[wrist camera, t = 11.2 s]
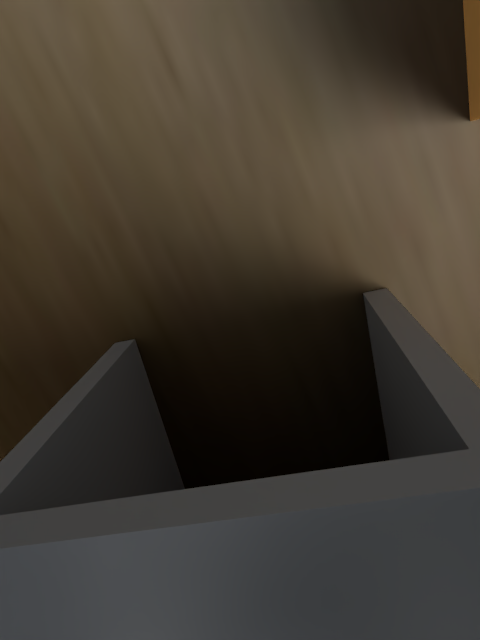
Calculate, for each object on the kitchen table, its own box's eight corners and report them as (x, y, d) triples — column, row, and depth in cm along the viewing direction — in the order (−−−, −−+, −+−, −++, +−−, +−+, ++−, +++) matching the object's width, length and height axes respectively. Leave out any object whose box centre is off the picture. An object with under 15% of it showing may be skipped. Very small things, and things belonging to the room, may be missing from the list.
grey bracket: (419, 520, 11) (568, 892, 5) (186, 548, 12) (103, 887, 6) (387, 288, 9) (560, 477, 3) (114, 343, 10) (-97, 561, 4)
